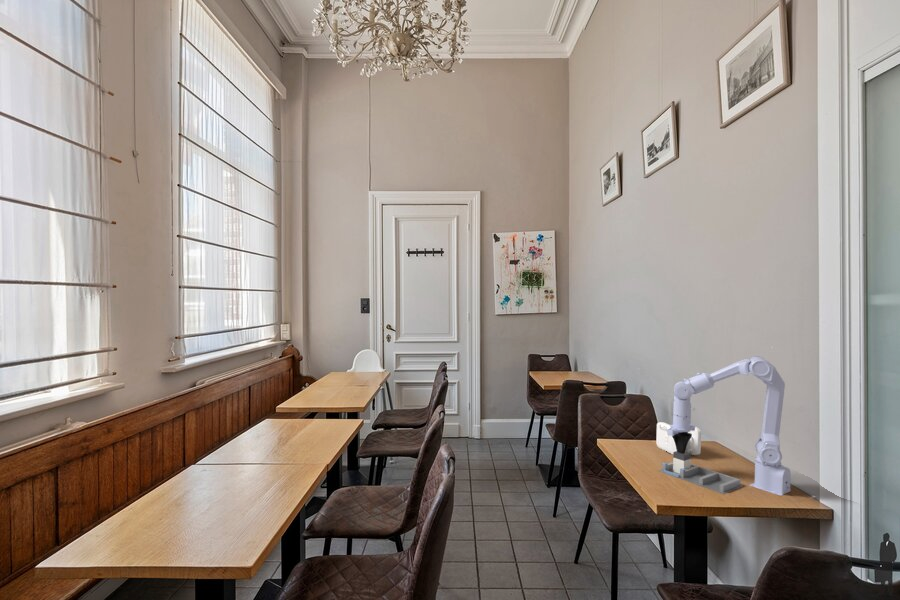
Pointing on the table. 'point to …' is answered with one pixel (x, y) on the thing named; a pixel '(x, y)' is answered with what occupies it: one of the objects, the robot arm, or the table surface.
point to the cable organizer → (669, 445)
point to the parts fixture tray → (704, 478)
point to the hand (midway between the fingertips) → (680, 452)
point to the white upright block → (680, 461)
